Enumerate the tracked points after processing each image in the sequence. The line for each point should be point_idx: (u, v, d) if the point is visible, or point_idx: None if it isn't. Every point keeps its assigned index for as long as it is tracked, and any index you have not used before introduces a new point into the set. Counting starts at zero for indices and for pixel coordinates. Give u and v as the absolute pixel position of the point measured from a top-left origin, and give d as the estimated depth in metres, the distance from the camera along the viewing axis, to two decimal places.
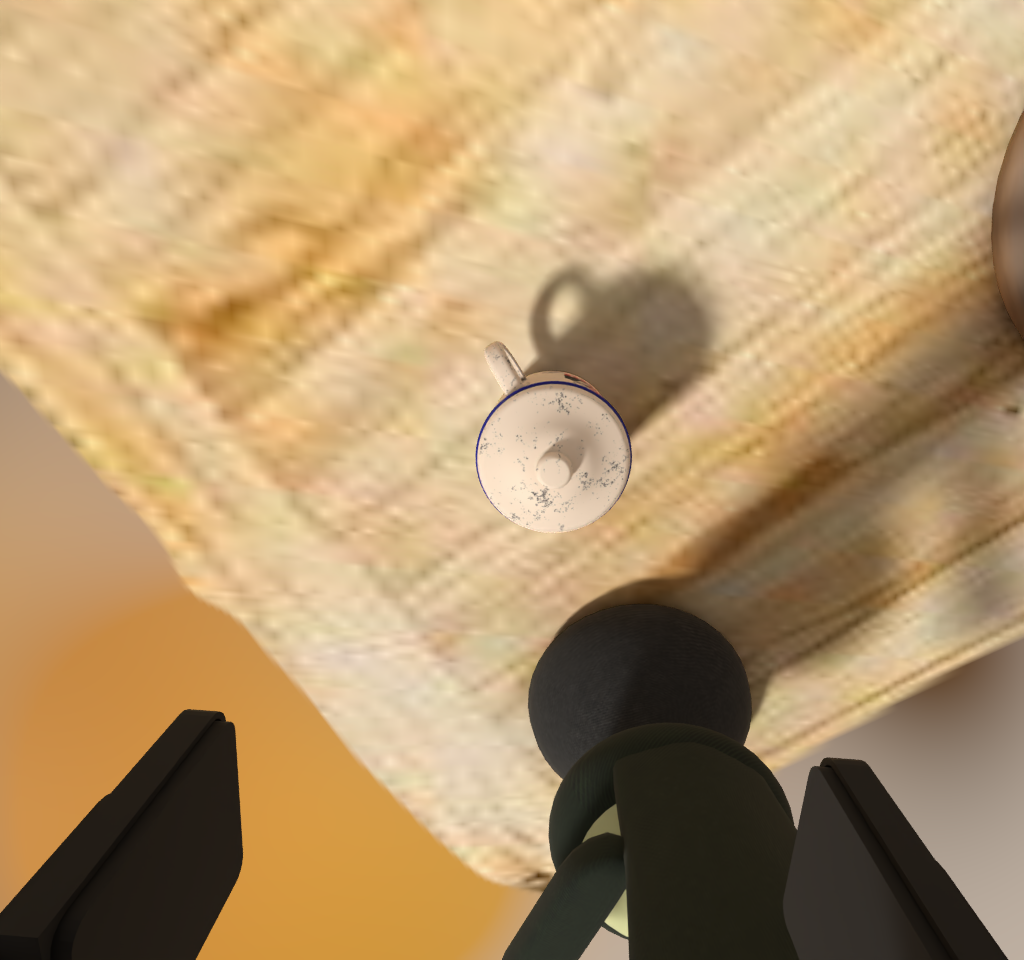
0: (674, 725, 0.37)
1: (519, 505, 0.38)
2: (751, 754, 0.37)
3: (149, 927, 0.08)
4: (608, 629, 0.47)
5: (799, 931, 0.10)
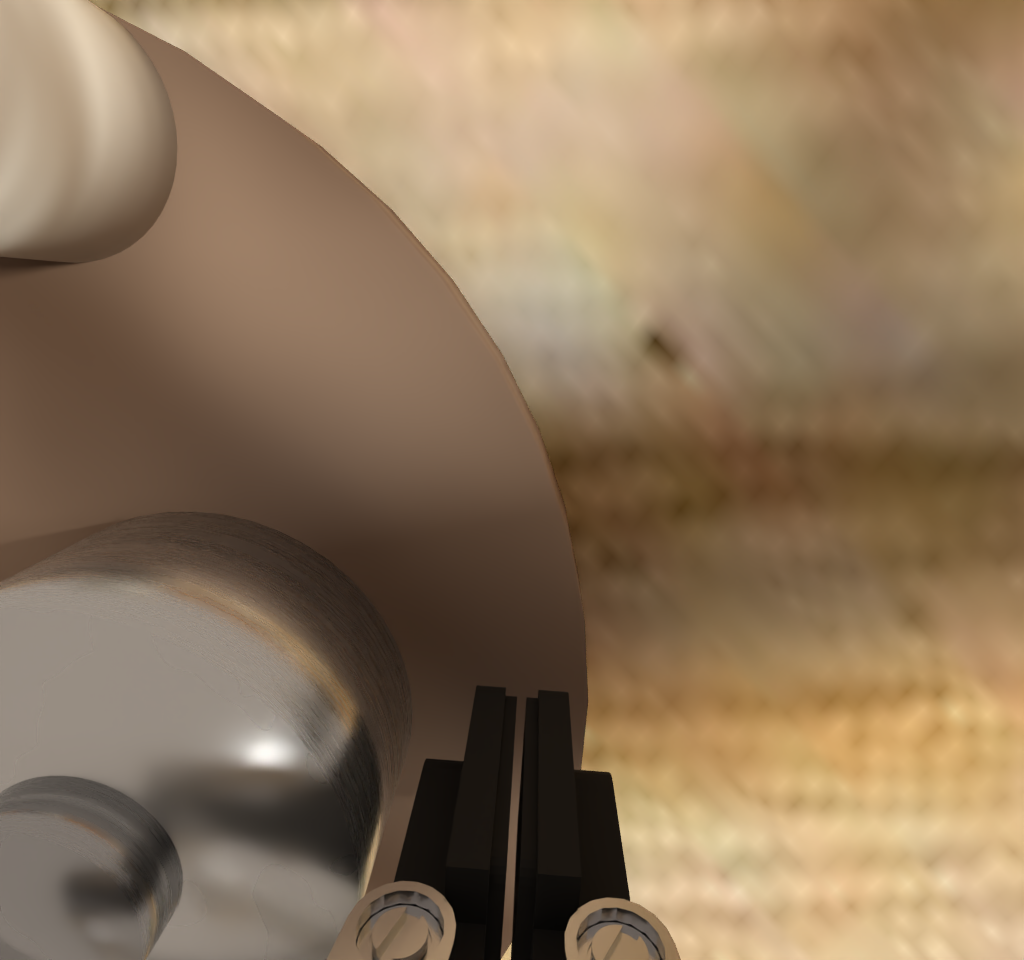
0: None
1: None
2: None
3: None
4: None
5: (516, 844, 0.11)
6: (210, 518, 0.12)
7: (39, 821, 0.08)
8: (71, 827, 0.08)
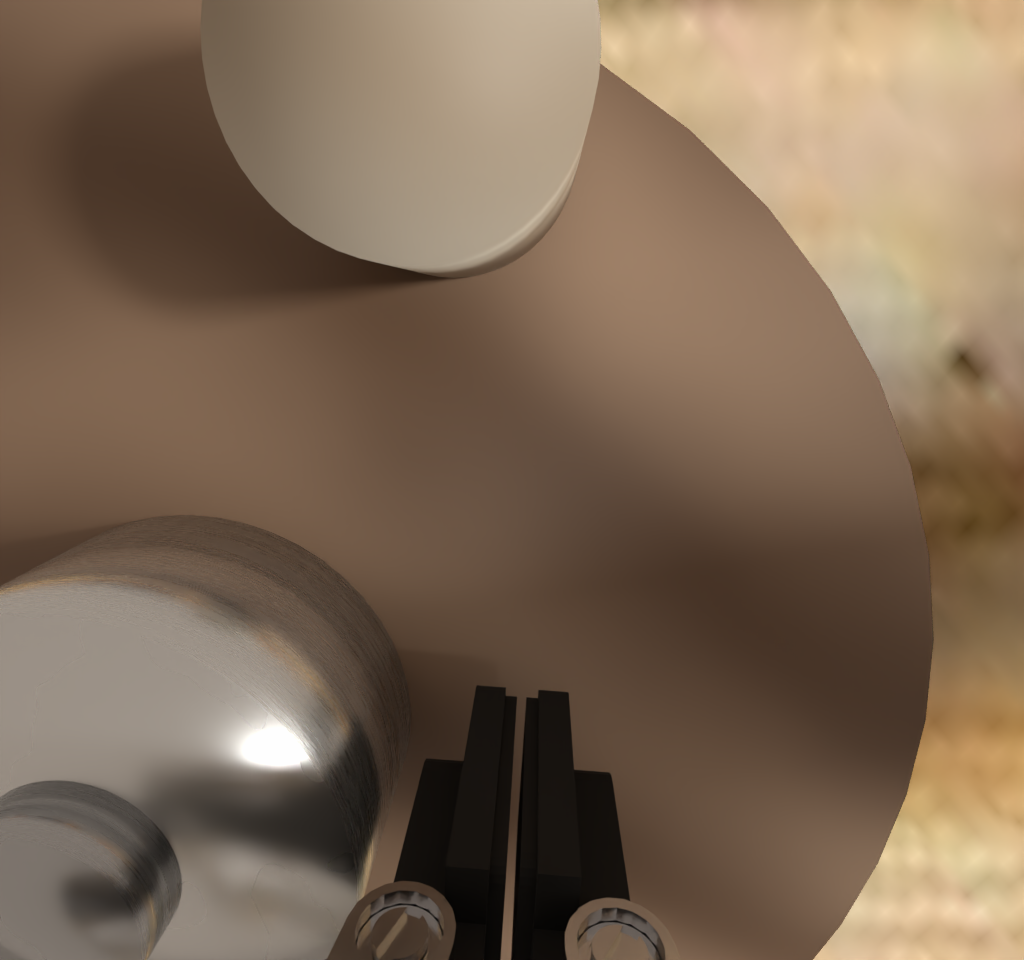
0: None
1: None
2: None
3: None
4: None
5: (516, 844, 0.11)
6: (202, 520, 0.12)
7: (34, 825, 0.08)
8: (67, 831, 0.08)
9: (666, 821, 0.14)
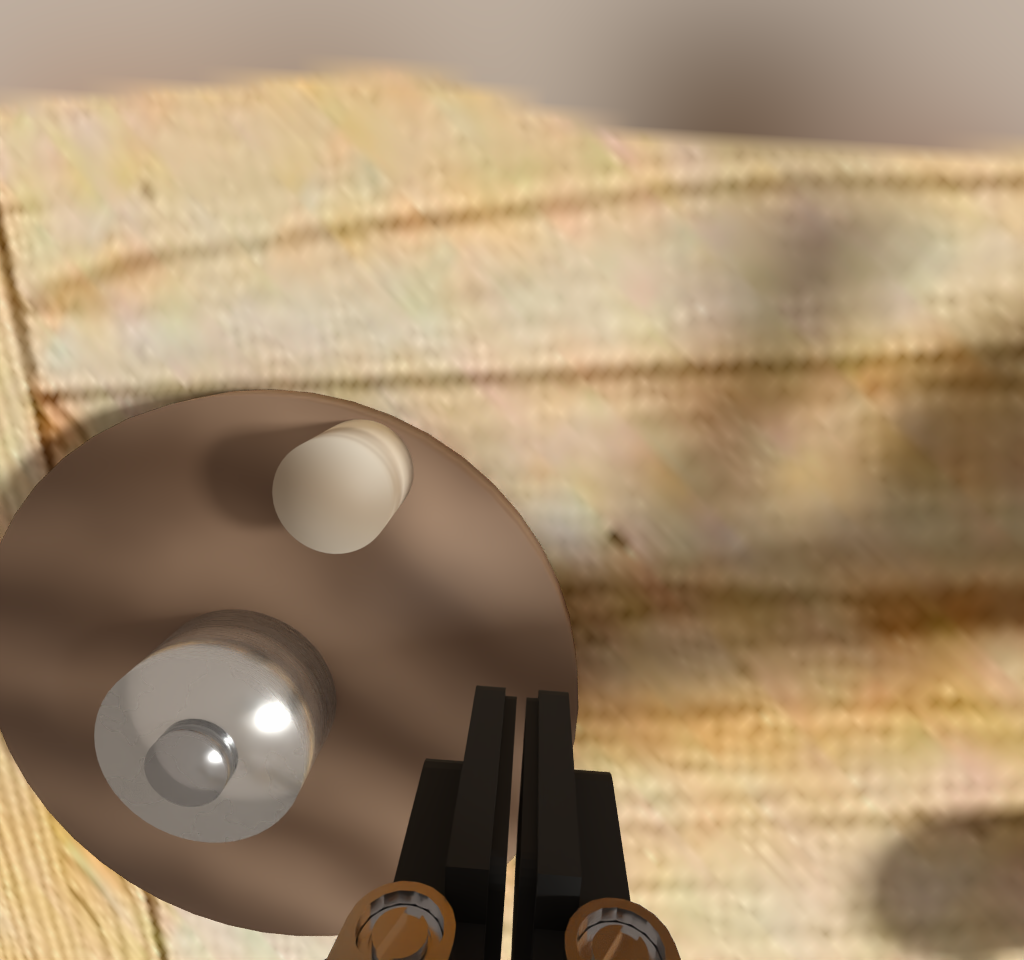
0: None
1: None
2: None
3: None
4: None
5: None
6: (244, 612, 0.28)
7: (190, 732, 0.24)
8: (201, 734, 0.24)
9: None
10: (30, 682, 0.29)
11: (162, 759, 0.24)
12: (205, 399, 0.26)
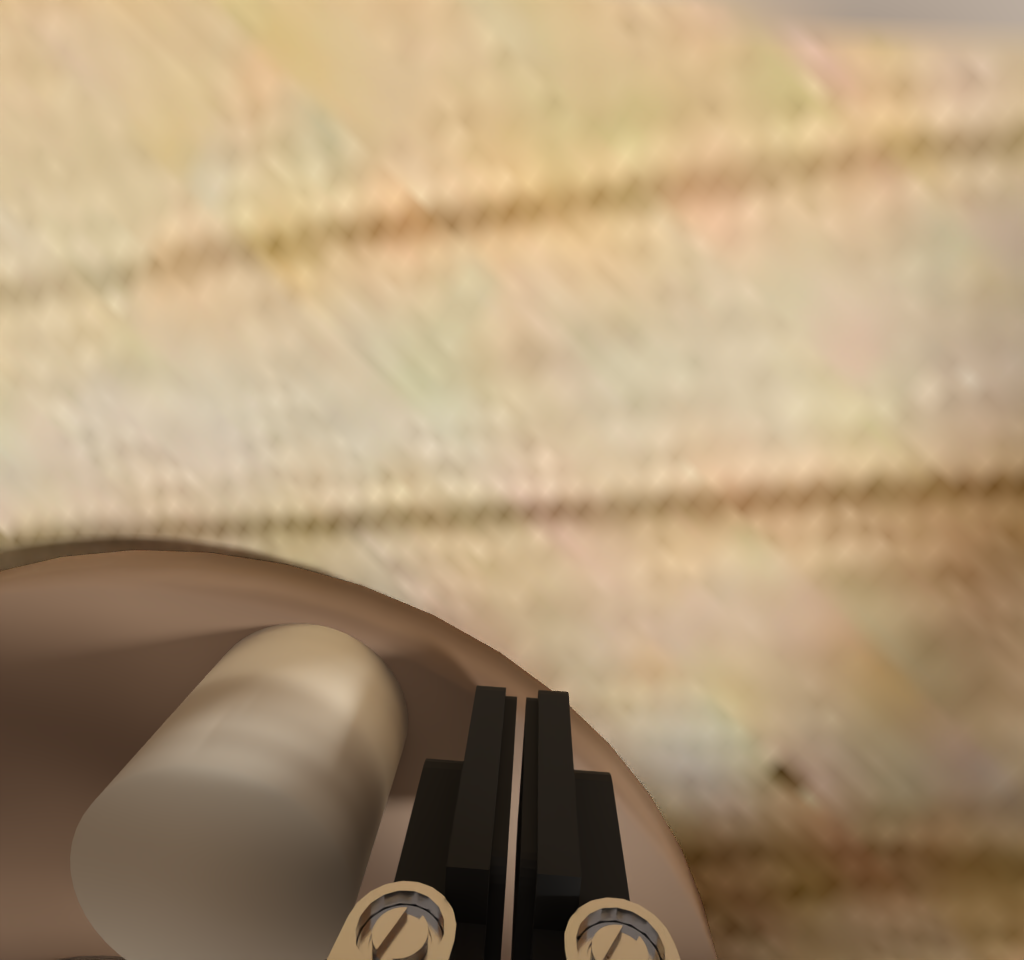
0: None
1: None
2: None
3: None
4: None
5: (516, 844, 0.11)
6: None
7: None
8: None
9: None
10: None
11: None
12: None
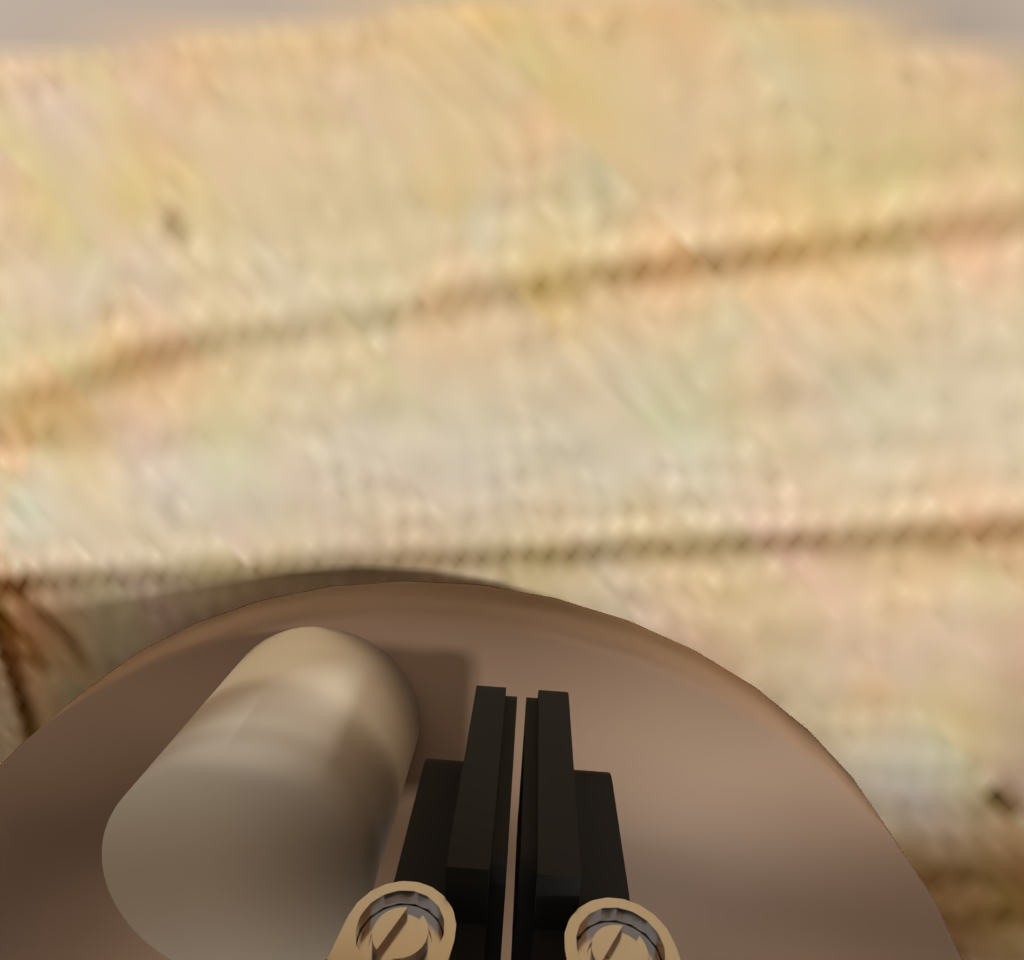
0: None
1: None
2: None
3: None
4: None
5: (516, 844, 0.11)
6: None
7: None
8: None
9: None
10: None
11: None
12: (24, 744, 0.14)
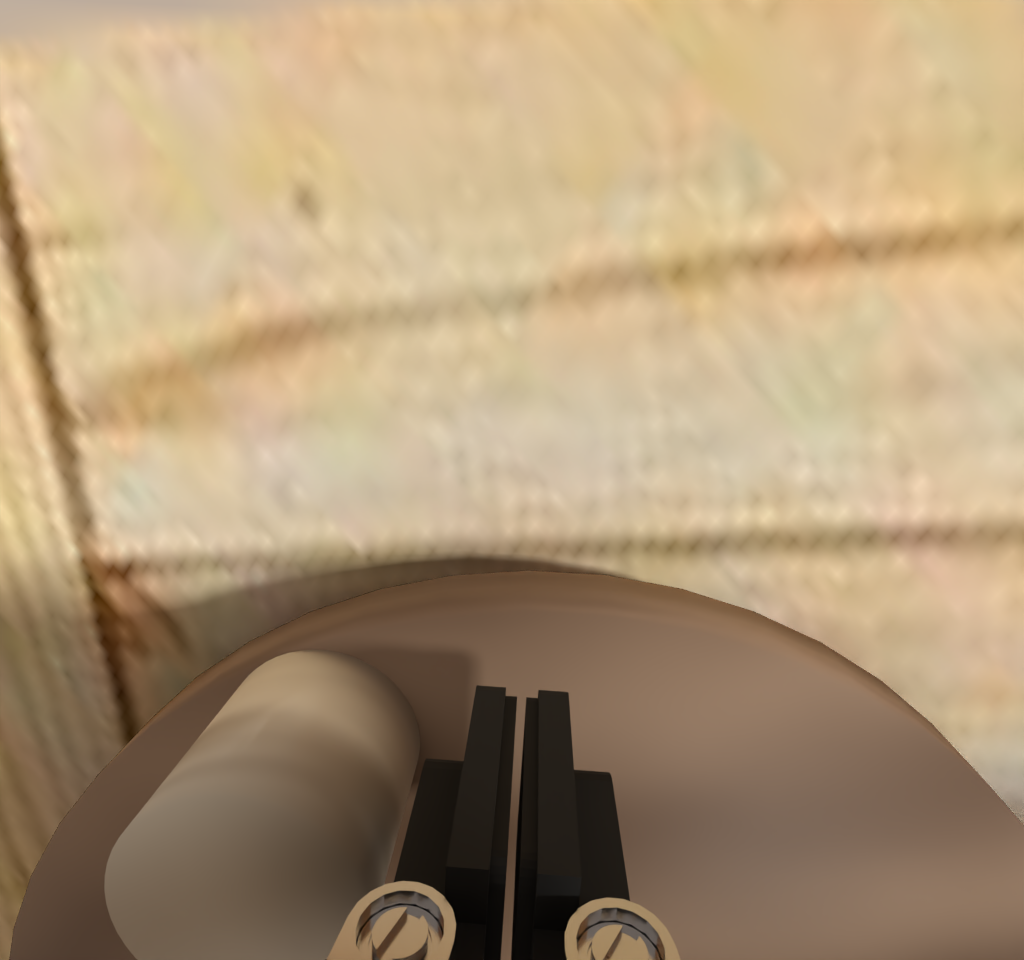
0: None
1: None
2: None
3: None
4: None
5: (516, 844, 0.11)
6: None
7: None
8: None
9: None
10: None
11: None
12: (59, 829, 0.15)
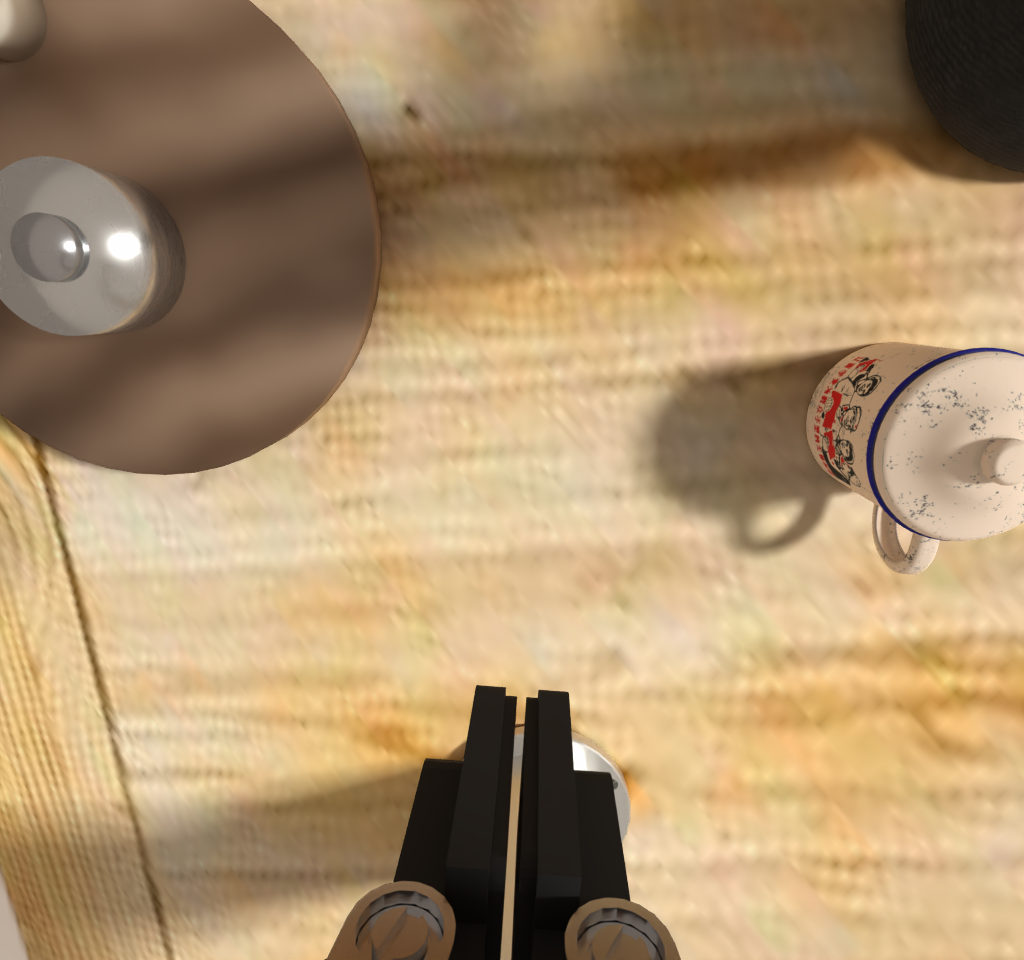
0: None
1: None
2: None
3: None
4: None
5: None
6: None
7: (22, 219, 0.30)
8: None
9: (259, 145, 0.33)
10: (12, 383, 0.37)
11: (25, 252, 0.30)
12: None
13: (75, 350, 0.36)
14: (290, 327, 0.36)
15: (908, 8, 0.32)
